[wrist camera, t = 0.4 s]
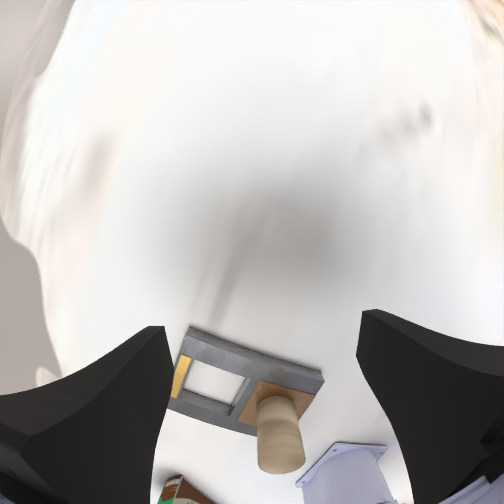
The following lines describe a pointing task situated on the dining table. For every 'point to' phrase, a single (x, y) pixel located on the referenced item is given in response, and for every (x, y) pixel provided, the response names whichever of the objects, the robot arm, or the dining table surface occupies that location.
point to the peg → (278, 436)
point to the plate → (252, 390)
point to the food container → (183, 492)
